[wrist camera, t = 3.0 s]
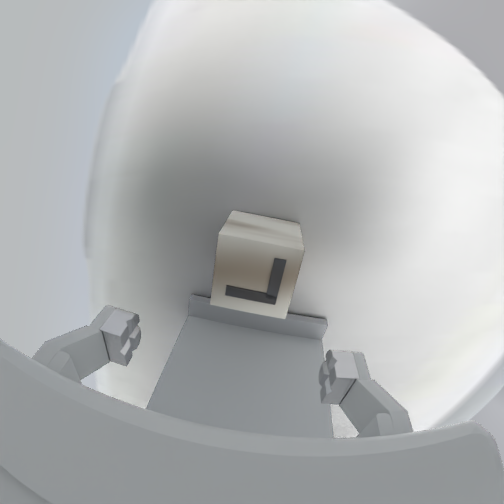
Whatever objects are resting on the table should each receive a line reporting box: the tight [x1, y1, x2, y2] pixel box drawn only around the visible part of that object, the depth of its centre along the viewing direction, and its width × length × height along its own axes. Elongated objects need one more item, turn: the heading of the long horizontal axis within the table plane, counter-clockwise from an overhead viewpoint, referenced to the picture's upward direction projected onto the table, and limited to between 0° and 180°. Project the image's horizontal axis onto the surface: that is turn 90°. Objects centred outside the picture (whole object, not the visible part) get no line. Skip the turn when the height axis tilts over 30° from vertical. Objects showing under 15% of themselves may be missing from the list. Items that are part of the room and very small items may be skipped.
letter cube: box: [210, 210, 305, 319], centre depth 19 cm, size 5×5×5 cm
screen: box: [146, 294, 333, 438], centre depth 18 cm, size 5×12×14 cm, turn 81°
